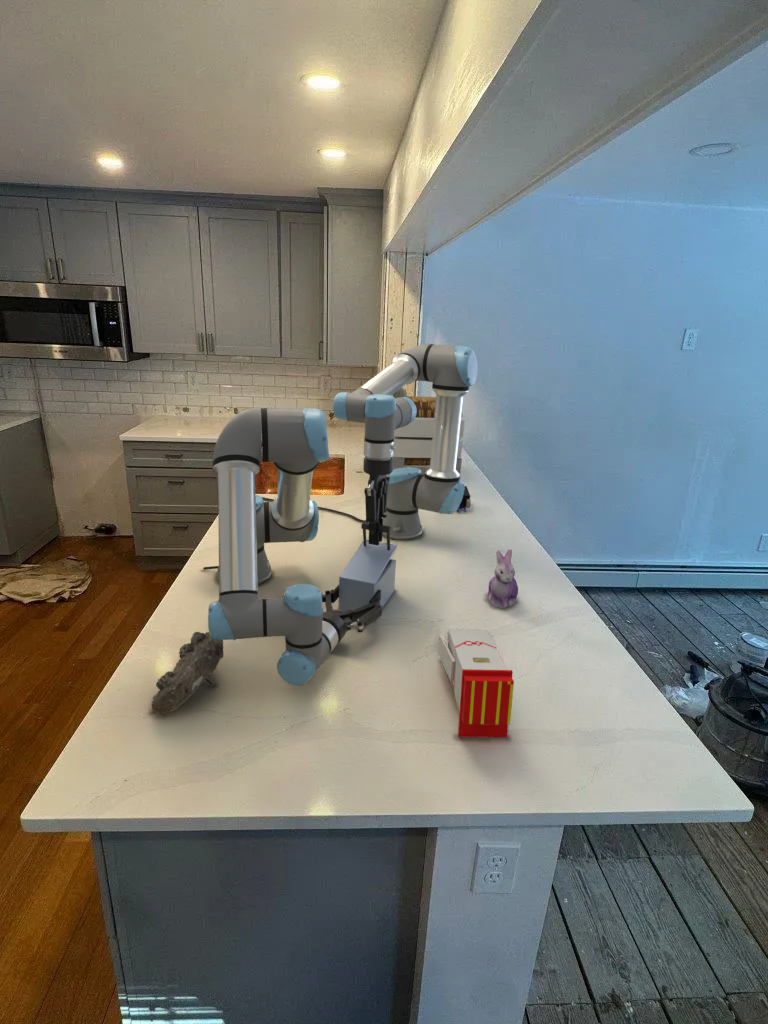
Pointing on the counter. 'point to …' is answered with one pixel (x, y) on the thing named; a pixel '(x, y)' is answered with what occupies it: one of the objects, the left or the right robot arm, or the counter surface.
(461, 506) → the figurine character
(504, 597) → the figurine
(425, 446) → the light grey slatted box
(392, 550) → the door
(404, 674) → the counter surface
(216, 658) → the fossil
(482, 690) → the toy
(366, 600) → the chest
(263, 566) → the left robot arm
